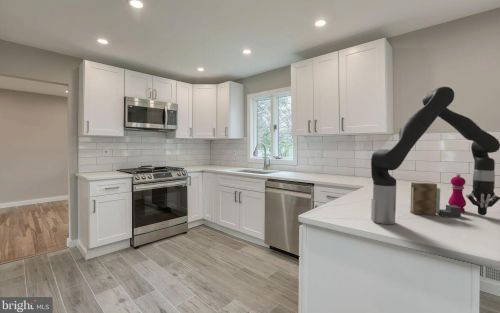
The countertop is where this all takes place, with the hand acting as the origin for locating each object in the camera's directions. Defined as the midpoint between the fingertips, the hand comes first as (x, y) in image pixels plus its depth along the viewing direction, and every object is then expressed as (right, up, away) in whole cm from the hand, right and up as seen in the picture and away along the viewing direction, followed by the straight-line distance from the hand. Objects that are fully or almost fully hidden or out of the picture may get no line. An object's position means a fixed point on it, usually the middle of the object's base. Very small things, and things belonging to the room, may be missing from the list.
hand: (481, 214), depth 116 cm
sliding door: (-23, -1, +6) cm, 24 cm away
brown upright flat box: (-24, -1, +7) cm, 25 cm away
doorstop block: (-13, -1, +4) cm, 14 cm away
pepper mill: (-2, -1, +12) cm, 12 cm away
